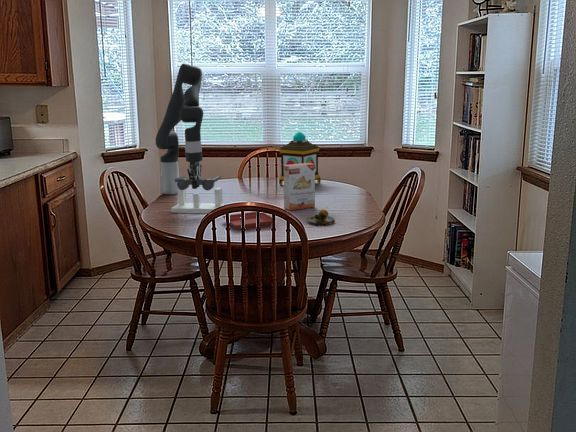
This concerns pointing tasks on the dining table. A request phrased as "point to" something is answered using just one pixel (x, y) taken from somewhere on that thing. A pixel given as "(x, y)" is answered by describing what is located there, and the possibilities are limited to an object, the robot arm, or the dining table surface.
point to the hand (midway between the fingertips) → (195, 187)
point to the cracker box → (299, 186)
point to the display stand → (197, 203)
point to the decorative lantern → (299, 154)
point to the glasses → (206, 184)
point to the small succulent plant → (321, 218)
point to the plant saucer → (250, 220)
